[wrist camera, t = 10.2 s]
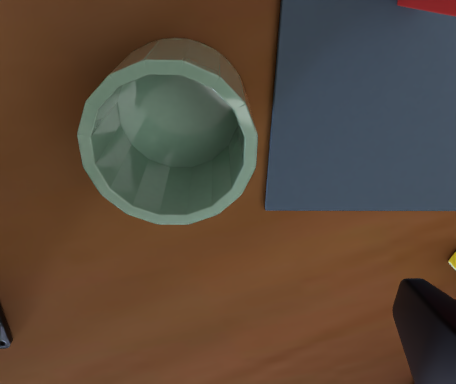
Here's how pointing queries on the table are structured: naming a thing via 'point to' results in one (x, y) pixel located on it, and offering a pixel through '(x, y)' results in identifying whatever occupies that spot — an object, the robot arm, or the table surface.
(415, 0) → the red rectangular bar
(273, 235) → the table surface
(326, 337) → the table surface
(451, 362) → the robot arm
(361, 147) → the placemat
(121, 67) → the tea cup
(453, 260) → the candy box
